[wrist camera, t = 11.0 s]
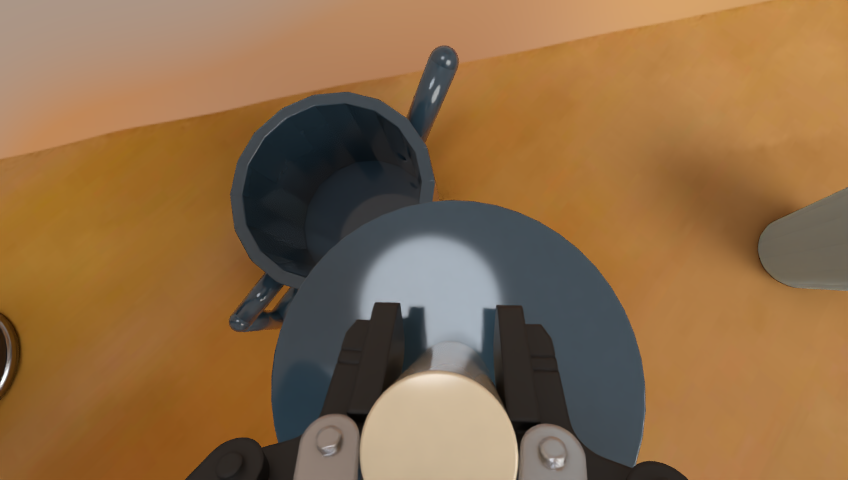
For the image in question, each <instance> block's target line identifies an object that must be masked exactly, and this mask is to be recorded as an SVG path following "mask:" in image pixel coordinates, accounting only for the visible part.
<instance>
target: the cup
mask: <svg viewBox="0 0 848 480" xmlns="http://www.w3.org/2000/svg"><path fill="white" fill-rule="evenodd" d="M758 253H759V257H760V260H761V263H762V265H763V267H764V268H765V269H766V271H767V272H768V273H769V274H770V275H771V276H772V277H773V278H775V279H776V280H777V281H779V282H781V283H783V284H786V285H788V286H791V287H795V288H809V289H826V290H843V291H848V187H847V188H845V189H843V190H841V191H839V192H836V193H834V194H832V195H830V196H828V197H826V198H824V199H821V200H819V201H817V202H815V203H813V204H811V205H808V206H806V207H804V208H802V209H800V210H798V211H795V212H793V213H791V214H789V215H787V216H785V217H782V218H780V219H778V220H776V221H774V222H772V223H770V224H769V225H768V226H767V227H766V228H765V230H764V231H763V232H762V234H761V236H760V238H759V243H758Z"/></svg>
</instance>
